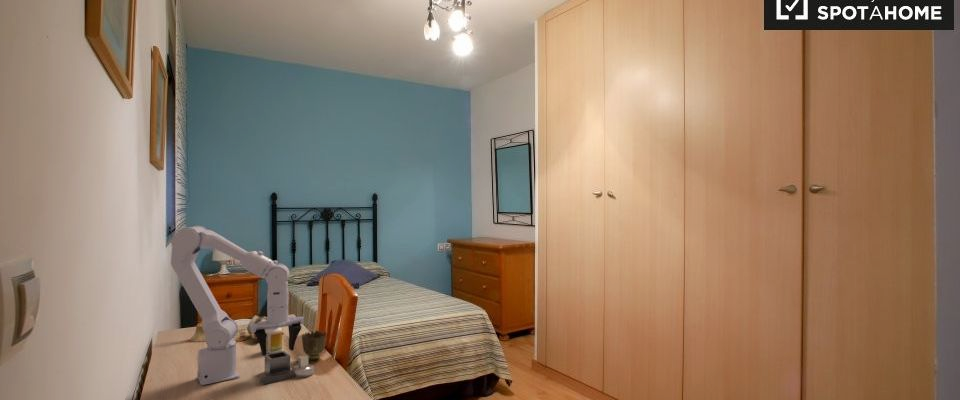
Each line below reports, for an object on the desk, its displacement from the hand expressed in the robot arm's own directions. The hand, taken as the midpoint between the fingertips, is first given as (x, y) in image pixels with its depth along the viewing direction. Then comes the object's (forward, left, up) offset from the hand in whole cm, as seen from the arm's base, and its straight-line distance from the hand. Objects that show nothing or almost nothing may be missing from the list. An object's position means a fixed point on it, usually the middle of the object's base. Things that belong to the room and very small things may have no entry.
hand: (277, 352), depth 135 cm
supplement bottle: (+4, +21, -6) cm, 22 cm away
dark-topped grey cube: (0, 0, -6) cm, 6 cm away
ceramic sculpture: (+5, +39, -6) cm, 40 cm away
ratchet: (+1, -6, -6) cm, 9 cm away
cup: (+12, +5, -6) cm, 15 cm away
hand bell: (-12, +51, -6) cm, 53 cm away
